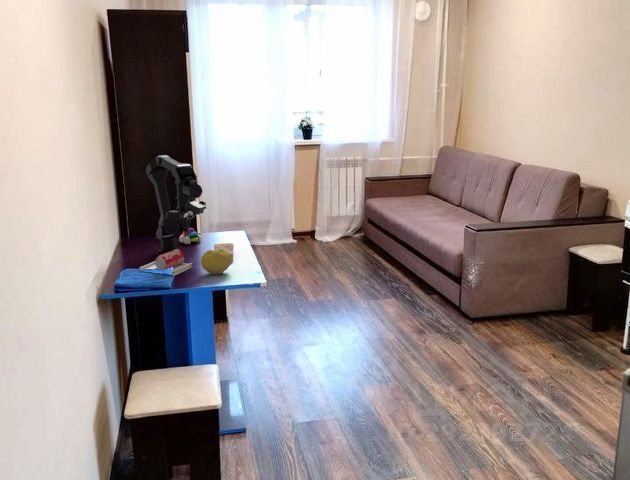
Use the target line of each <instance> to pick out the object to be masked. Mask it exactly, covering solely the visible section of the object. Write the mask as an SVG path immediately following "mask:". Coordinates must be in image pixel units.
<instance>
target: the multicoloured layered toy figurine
mask: <svg viewBox="0 0 630 480" xmlns="http://www.w3.org/2000/svg"><path fill="white" fill-rule="evenodd" d="M178 241H179V243H181V244H186V245H187V244H189V245H191V242H196V243H197V242H199V243H201V241H202V236H201V235H200V234H198V232H197V231H196V230H195V229H194V228H193V227H189V230H188V232H184V231H182V234H181V235H180V236H179V237H178Z"/></svg>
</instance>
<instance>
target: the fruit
mask: <svg viewBox="0 0 630 480" xmlns="http://www.w3.org/2000/svg"><path fill="white" fill-rule="evenodd" d="M231 259H232V258H231V255H230V253H229V252H228V251H226V250H224V249H216V250H214V249H208V250H206V251H205V252H204V253H203V255H201V259H200V264H201V265H200V266H201V268H202V269H203V270H204V271H206V272H207V273H209V274H211V275H213V276H214V275H215V276H216V275H217V276H219V275H221V274H223V273H224V272H225V271H226V270H228V268H229V267H230V266H231V264H232V263H231Z"/></svg>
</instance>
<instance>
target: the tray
mask: <svg viewBox="0 0 630 480" xmlns="http://www.w3.org/2000/svg"><path fill="white" fill-rule="evenodd" d="M193 267H194V266H193V263H192V262H190V263H185V262H183V263H181V264H179V265H177V266H174V267H173V271H172V272H171V273H172V274H173V276H172V277H175V276H176V275H179V274H180V273H183V272H185V271H187V270H189V269H191V268H193ZM155 268H157V267H156V265H155V260H154V261H151V262H150V263H148V264H144V265H141V266H140V267H139V268H138V269H139V270H143V269H155ZM139 270H138V271H139Z"/></svg>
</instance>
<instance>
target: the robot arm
mask: <svg viewBox="0 0 630 480" xmlns="http://www.w3.org/2000/svg"><path fill="white" fill-rule="evenodd" d="M168 171H170V172H171V174H172V175H171V176H173V178H175V181H174V183H175V184H176V196H177V197H174V198H175V199H174V200H175V201H177V207H175V209H174V210H172V209H171V205H170V200H169V195H168V191H167V186H166V180H167V177H168ZM145 172H146V175H147V177H148V180H149V181H150V182H151V183H152V184H153V186H154V192H155V196H156V201H157V205H158V210H159V214H160V217H159V219H158V220H159V221H158V223H157V224H158V228H157V230H156V232H155V236H156V239H158V240H159V244H160V245H159V247H160V248H159V250H157V251H158V252H159V253H167V252H170V251H173V250H176V249H178V250H179V248H178V244H177V242H178V241H177V240H176V238H179V237H180V236H179V235H180V228H182V230H183V232H188V230H189V228H190V226H191V222H192V219H194V217H196V216H198V215H199V216H200V214H203V213H204V211H205V210H206V209H207V205H206V203H207V202H206V201H205V200H200V201H196V199H198V198H200V197H201V196H202V195H203V188H202V186H201V185H200V184H199V183H198V176H197V174H196V173H195V170H194V168H193V166H192V165H191V164H190V163H185V162H184V163H182V162H178V161H177V160H175V159H173V158H171V157H170V155H167V154H165V155H164V154H163V155H157V156H155V158H154V159H153V160H151V161H150V162H148V164H147V165H146V167H145ZM179 224H180V225H179Z"/></svg>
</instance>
